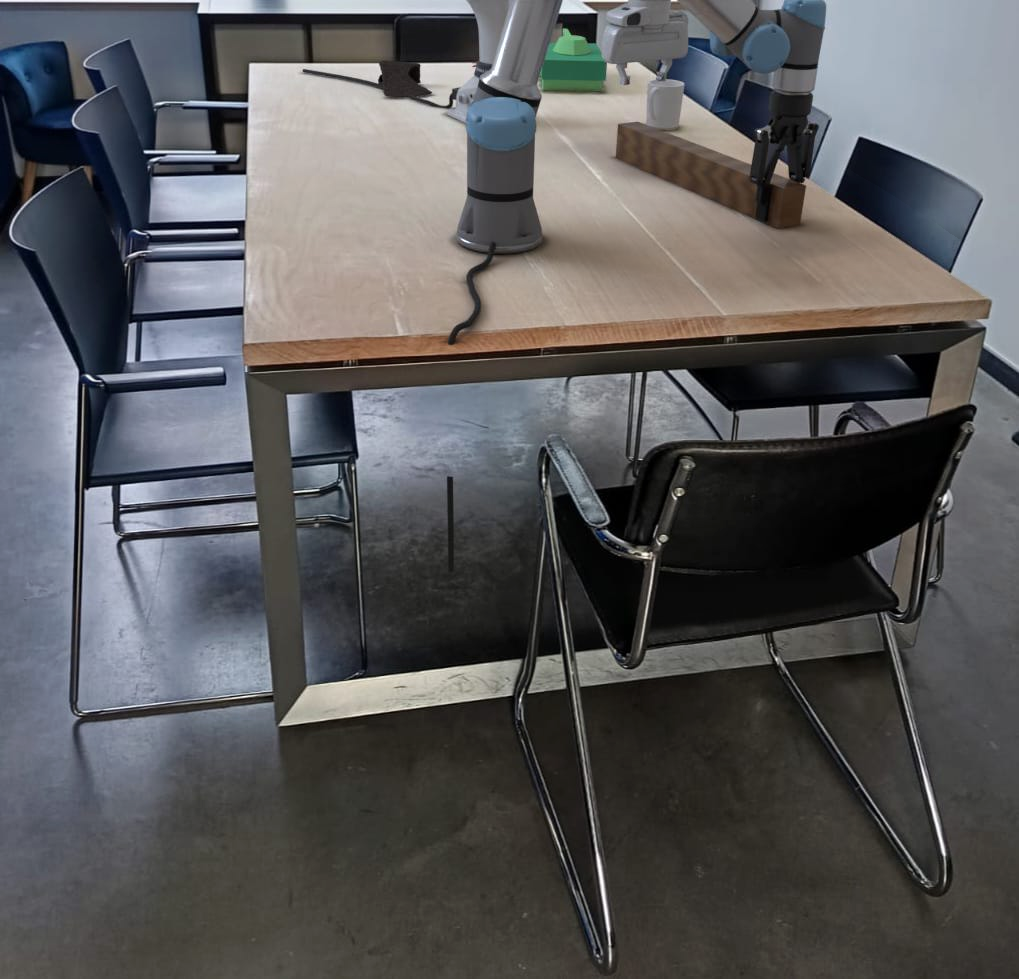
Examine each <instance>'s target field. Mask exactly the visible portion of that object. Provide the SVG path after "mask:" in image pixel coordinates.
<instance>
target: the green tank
mask: <svg viewBox="0 0 1019 979" xmlns="http://www.w3.org/2000/svg"><path fill="white" fill-rule="evenodd" d="M601 53H602V50H601V49H600V48H599V46H598V44H597V43H590V42H589V43H588V41H587V38H586V37H584V36H581V35H575V34H574V35H572V34H571V33H570V31H569V29H568V28H562V35H561V36H560V37H559V38H558V40H557V41H556V42H550V44H549V47H548V50H547V53H546V57H545V60H544V63H543V66H542V70H541V73H540V76H539V77H540V80H541V86H542V87H541V89H542V91H574V92H576V91H581V92H602V90H603V85H604V83H603V82H606V81H607V71H608V68H607V67H608V63H606V62H604V60H603V58H602V55H601Z"/></svg>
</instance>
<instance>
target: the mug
mask: <svg viewBox="0 0 1019 979" xmlns="http://www.w3.org/2000/svg"><path fill="white" fill-rule="evenodd" d="M646 86H647V87H646V88H647V91H646V116H645V124H646V125H648V126H651V127H654V128H656V129H659V130H662V131H673V130H677V129H678V128H679V126H680V119H681V112H682V106H683V105H682V104H683V99H684V91H685V82H683V81H680V80H676V79H670V78H669V79H667V78H666V81H662V82H659V81H657V80H656V78H655V79H650V80H648V81H647V85H646Z"/></svg>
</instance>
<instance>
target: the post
mask: <svg viewBox="0 0 1019 979" xmlns="http://www.w3.org/2000/svg"><path fill="white" fill-rule="evenodd" d="M615 159H618V160H619V161H621V162H624V163H626V164H628V165H632V166H633V167H636V168H638V169H640V170H643V171H645V172H647V173H650V174H652V175H654V176H657V177H659V178H661V179H663V180H665V181H668V182H670V183H672V184H674V185H677V186H679V187H682V188H685V189H687V190H689V191H691V192H694V193H695V194H698V195H700V196H703V197H705V198H708V199H709V200H712V201H713V202H717V203H719V204H721V205H723V206H725V207H728V208H730V209H732V210H735V211H737V212H740V213H742V214H744V215H746V216H749V217H751V218H753V219H754V220H758V221H760V222H762V223H764V224H767V225H769V226H772V227H773V228H776V229H783V228H789V227H795V226H798V225H799V226H800V225H801V221H802V214H803V208H804V203H805V196H806V190H807V185H806V184H804V183H798V182H796V181H793V180H790V179H789V177H785V176H782V175H780V174H777V173H775V172H774V173H773V176H772V179H771V181H770V184H769V186H771V187H772V194H771V200H770V207H769V214H768V221H767V222H763V221H761V220H759V219H756V218H755V215H756V208H757V202H756V200H755V199H756V192H757V184H755V183H752V182H750V181H749V177H750V170H751V164H752V163H749V162H745V161H743V160H740V159H738V158H736V157H732V156H730V155H727V154H725V153H722V152H720V151H717V150H714V149H711V148H709V147H706V146H704V145H700V144H698V143H695V142H693V141H690V140H688V139H685V138H683V137H680V136H677V135H676V134H675V135H674V134H671V133H669V132H667V131H665V130H659V129H656V128H654V127H651V126H648V125H646V123H643V122H641V121H630V122H621V123H617V131H616V147H615Z"/></svg>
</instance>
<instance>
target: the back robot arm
mask: <svg viewBox="0 0 1019 979" xmlns="http://www.w3.org/2000/svg"><path fill="white" fill-rule="evenodd" d="M466 2H467V3H468V4H469V6H470V7H471V9H472V11H473V14H474V16H475V20H476V23H477V29H478V51H479V52H478V54H479V55H478V56H479V58H478V60H477V61H473V62H471V64H473V65H471V67H472V68H474V73H473V76H472V77H470V79H469V80H468V81H467V82H465V83H464V84H462V86H460V87H455V88H451V93H449V97H448V101H449V102H448V104H447V105H440V104H438V103H436V102H433V101H431V100H429V99H424V98H421V97H416V96H413V95H411V94H408V93H405V94H406V96H407V97H408V98H407V99H411V100H412V101H416V102H417V103H418V102H419V103H421V104H424V105H428V106H429V107H434V108H440V109H446V115H447V116H449V117H452V118H454V119H456V120H458V121H460V122H462V123H464V124H466V117H467V112H468V109H469V107H470V106H471V104H472V102H473V100H474V96H475V93H476V89H477V86H478V82H479V79H480V76H481V75H482V74H484V73H486V72H487V71H489V70H490V69H491V68H492V64H493V61H494V57H495V54H496V50H497V47H498V43H499V40H500V36H501V33H502V29H503V26H504V22H505V19H506V15H507V12H508V8H509V5H510V2H509V0H466ZM671 4H672V0H628V1H626V2H625V3H623V4H621V5H619V6H618V7H617V6H616V7H615V8H613V9H611V10H608V11H607V12H606V14H605V15H606V16H605V20H606V23H608V24H607V26H605V28H604V31H603V35H602V42H601V52H602V53H601V55H602V58H603V60H604V62H606V63H607V64H609V65H615V68H616V71H617V73H618V75H619V85H621V86H629V85H630V84H631V76H630V75H628V74H627V71H626V69H628V64H631V63H640V62H642V63H643V62H652V61H653V62H654V61H661V64H662V65H661V67H660V69H659V71H656V73H655V75H656V77H655V79H656V80H657V81H659V82H662V81H666V79H667V75H668V73H669V70H670V69H671V67H672V66H673V60H677V59H684V58H685V57H686V56H687V55H688V53H689V52H688V51H689V30H688V29H689V17H688V15H687V14H686V13H685V12H684V11H682V10H680V11H671V7H672V6H671ZM302 73H305V74H312V75H316V76H321V77H328V78H334V79H339V80H345V81H350V82H355V83H359V84H365V85H368V86H372V87H376V88H379V89H382V90H384V89H383V88H382V86H381V84H378V82H375V81H370V80H366V79H362V78H357V77H352V76H347V75H344V74H343V75H342V74H337V73H331V72H325V71H318V70H313V69H307V68H303V69H302ZM454 101H455V106H454ZM453 106H454V107H453Z"/></svg>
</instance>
